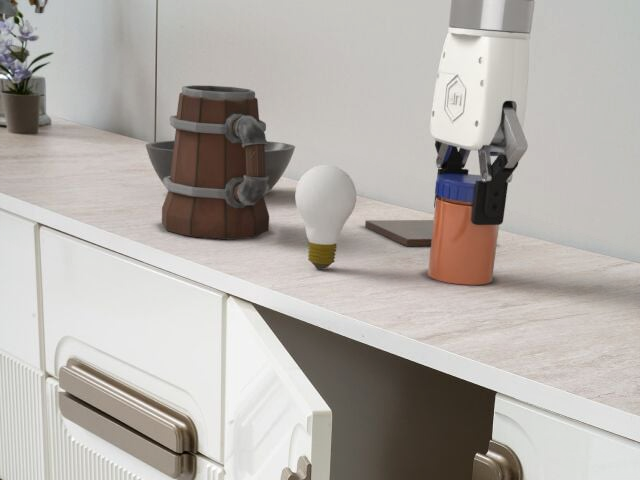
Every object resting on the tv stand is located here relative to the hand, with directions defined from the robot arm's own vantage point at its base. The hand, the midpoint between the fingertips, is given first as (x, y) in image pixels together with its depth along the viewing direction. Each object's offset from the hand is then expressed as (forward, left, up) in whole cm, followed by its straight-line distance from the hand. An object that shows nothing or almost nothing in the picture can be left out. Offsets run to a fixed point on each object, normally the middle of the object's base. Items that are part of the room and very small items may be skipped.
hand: (467, 215), depth 110 cm
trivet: (-7, -20, -6) cm, 22 cm away
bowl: (+9, -48, -6) cm, 49 cm away
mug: (+17, -23, -6) cm, 29 cm away
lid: (0, 0, +3) cm, 3 cm away
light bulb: (+13, -5, -6) cm, 15 cm away
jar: (0, 0, -6) cm, 6 cm away
